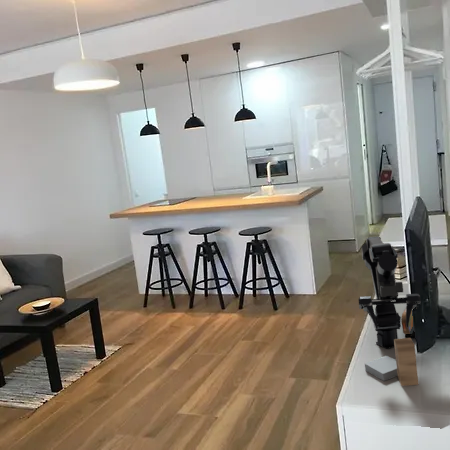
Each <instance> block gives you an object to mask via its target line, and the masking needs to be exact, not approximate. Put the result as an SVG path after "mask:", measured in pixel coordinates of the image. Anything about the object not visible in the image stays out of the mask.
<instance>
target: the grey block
mask: <svg viewBox="0 0 450 450" xmlns="http://www.w3.org/2000/svg"><path fill="white" fill-rule="evenodd" d="M364 370H365V371H366V372H367V373H369V374H371V375H372V376H374V377H376V378H377V379H379V380H381V381H383V382H386V381H387V380H390V379H393V378H396V377H398V374H397V365H396V358H393V357H390V356H389V355H384V356H382V357H379V358H375V359H372V360H371V361H368V362H364Z"/></svg>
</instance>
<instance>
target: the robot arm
mask: <svg viewBox="0 0 450 450" xmlns="http://www.w3.org/2000/svg"><path fill="white" fill-rule="evenodd" d="M365 240H366V241H365V242H364V244H362V246H361V259H362V261H364V265H365V267H367V269H368V270H370V274H371V278H372V284H373V290H374V294H375V298H372V296H371V295H370V296H368V295H367V296H359V298H358V308H359V310H363V312H367V314H368V315H369V317H370V319H371V320H372V323H373V328H374V331H375V332H377V333H376V340H377V341H375V345H378V346H379V347H382V348H384V349H386V350H389V349H392V348H395V345H394V339H399V337H398V330H400V329H401V328H402V323H401V317H402V316H401V315H399V312H397V310H396V305H398V304H399V305H401V304H403V305H405V304H406V305H405V309H406V327H407V328H408V325H409V320H410V315H411V312H412V309H414V308H415V307H416V308H417V307H418V306H417V304H420V305H421V302H422V300H421V295H420V294H419V293H406V295H405V297H399V293H404V286H403V281H396V274H395V272H396V270H397V267H398V257H399V256H398V255H399V254H398V252H397V250H396V249H395V248H394V246H392V244H391V243H389V242H386V243H385V242H383V241H382V238H381V236H377V235H376V236H371V237H367V238H366V239H365ZM416 302H417V303H416ZM374 306H375V308H374Z"/></svg>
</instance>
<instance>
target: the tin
mask: <svg viewBox="0 0 450 450" xmlns="http://www.w3.org/2000/svg"><path fill="white" fill-rule="evenodd" d="M400 317H401V322H400V323H401V328H402V332H403V334H404V335H405V336H407V335H406V334H410V331H411V329H412V327H413V316H412V312H411V315H410V320H409V325H408V328H407V327H406V308H405V309H404V310H403V312H402V314H401V316H400Z"/></svg>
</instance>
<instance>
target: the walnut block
mask: <svg viewBox="0 0 450 450" xmlns="http://www.w3.org/2000/svg"><path fill="white" fill-rule="evenodd" d="M394 345H395V347H394V352H395V360H396V365H397V374H398V376H397V380H398V382H399V383H400V386H401V387H403V386H405V387H406V386H407V387H408V386H418V385H419V377H418V376H419V375H418V366H417V357H416V347H415V346H416V345H415V342H413V340H412V338H411V337H405V338H398V339H394Z"/></svg>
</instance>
